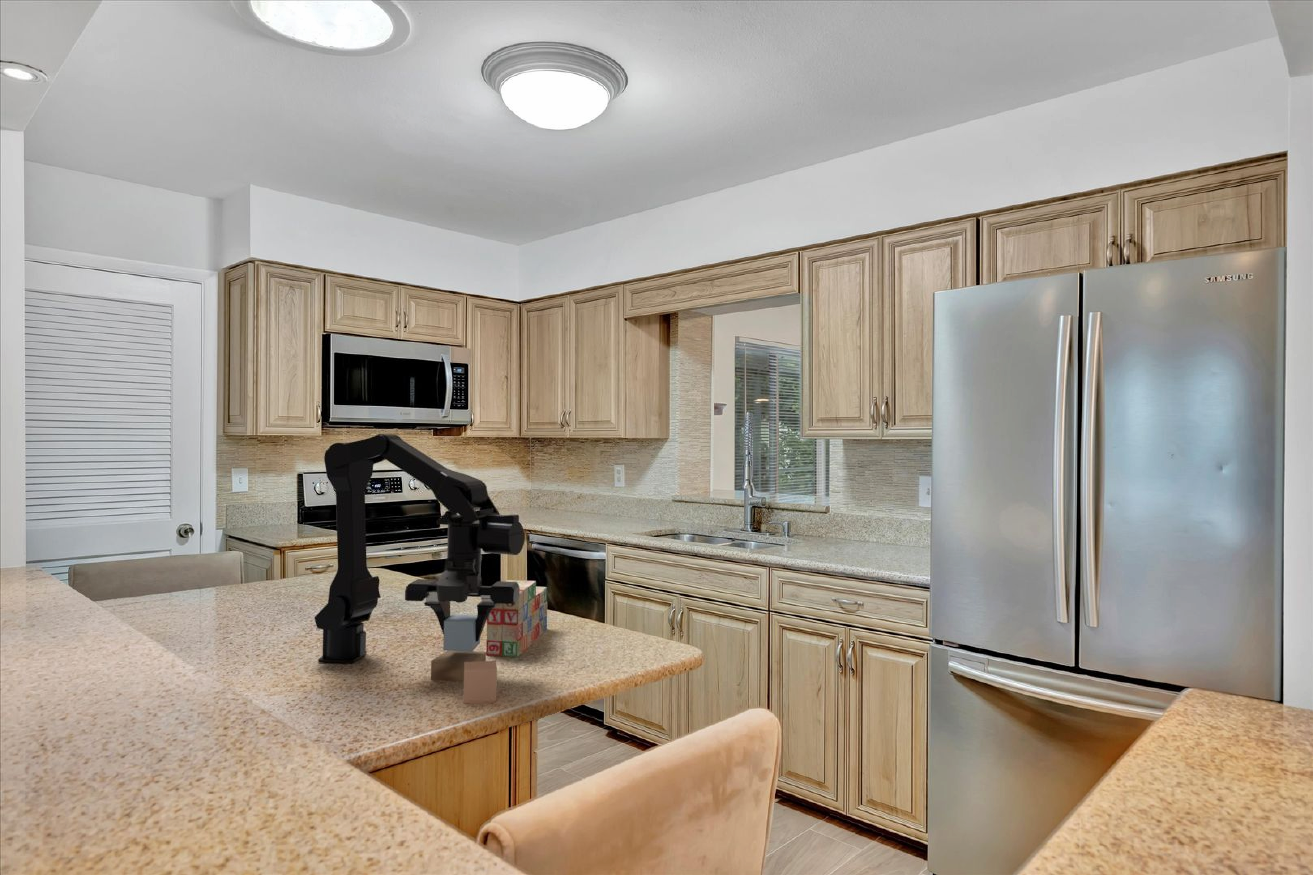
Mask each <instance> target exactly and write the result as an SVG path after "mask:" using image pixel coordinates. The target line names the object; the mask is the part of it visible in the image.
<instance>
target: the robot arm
mask: <svg viewBox="0 0 1313 875" xmlns="http://www.w3.org/2000/svg"><path fill="white" fill-rule="evenodd" d="M327 448H328V447H327ZM323 459H324V467H325V472H326V478H327V479H328V481H329V483H330V484H331V485H332V487H333V490H334V492H335V503H336V504H335V506H336V511H335V513H336V549H337V554H336V555H337V571H336V573H335V575H334V577H333V580H332V581H331V583H330V585H329V591H328V599H327V603H326V604H325V605H324V607H323V608H321V610H320V611H318V613H317V614H316V615H315V616H314V621H315V626H316V628H317V629H319V630H322V656H321V657H319V658H318V660H317V661H318V663H339V664H341V663H342V664H343V663H344V664H346V663H347V664H348V663H349V664H353V663H355V662H357V660H359V659H360V658H362V657H363V656H365V655H367V653H368V651H367V648H366V647H367V643H366V642H367V631H365V630H364V626H365V625H364V624H365V623H364V622H368V621H370V619H371V615H372V614H373V611H374V610H375V609H376V608H377V605H378V602H379V599H380V598H381V593H380V588H379V587H380V577H379V576H378V575H377V576H373V575H372V574H371V572H370V570H369V569H368V564H367V562H368V561H367V532H366V531H367V529H366V528H367V527H366V525H367V524H366V523H367V522H366V494H365V493H366V489H367V486H368V485H369V483H370V480H371V478H372V476H373V471H374V465H375V464H379V463H381V462H384V461H387V462H389V463H391V464H392V465H393V466H394V467H397V469H400V470H401V471H403V472H404V473H406V474H407V475H409V476H410V477H411V478H414V479H415V480H417V481H418V482H420V483H421V484H423V485H424V486H426V487H427V488H428V489H429V490H430V491H431V492H432V493H433V496H434V497H435V499H436V500H437V502H439V504H441V505H442V506H443V507H444V508H445V509H446V511H445V513H443V515H442V516H440V517H439V518H438V519H437V520H436V524H437V525H441V526H442V525H444V526H445V525H446V526H447V549H446V550H447V553H446V554H447V556H446V558H445V562H444V568H443V572H442V573H441V574H440V576H439V578H438V579H430V578H429V579H428V578H427V579H425V578H422V579H421V578H417V579H415V580H414V581H412V582H409V584H408V585H407V586H405V590H404V600H405V601H406V602H423V601H424V600H425V602H424V603H423V604H424V606H425V607H429V608H430V609H431V610H433V613H435V616H436V618H437V620H438V623H439V625H440V626H439V627H440V629H441V632H442V635H443V636H444V621H445V620H446V619H447V618H449V617H450V616H451V602H455V603H459V604H460V603H464V602H466V601H467V600H468V597H470V598H473V597H474V598H480V602H479V603H477V605H476V610H477V614H476V615H477V623H476V632H475V633H476V642H478V641H479V639H480V640H481V635H482V634H483V631H484V628H485V626H486V624H487V618H488V616H489V614H490V612H491V610H492V608H494V607H496V606H497V605H498V604H511V603H514V602H515V601H516V600H517V599H518V598H519V593H520V587H519V585H518V583H517V582H505V581H504V580H503V581H501V580H500V581H499V580H498V581H496V582H495V583H494V584H492V585H490V586H489V585H482V577H481V573H482V572H481V569H482V568H481V567H482V560H483V555H482V552H483V553H486V554H497V555H511V556H517V555H519V554H520V553H521V552H522V550H523V548H524V545H525V540H526V539H525V538H526V537H525V536H526V534H525V532H524V528H523V525H522V523H521V522H520V515H519V514H509V515H508V514H507V515H506V514H501V513H500V512H499V510H498V509H497V507H496V506H495V504H494V502H493V501H492V499H491V497H490V496H489V494H488V488H487V485H486V483H485V482H483V480H481V479H480V478H476V477H473V476H471V475H468V474H466V473H463V472H458V471H455V470H452V469H450V468H447V467H446V466H444V465H443V464H441V463H439V462H438V461H436V460H434V459H433V458H431V457H430V456H428V455H427V454H425V453H424V452H422V451H421V450H419V449H417V448H416V447H414V446H413V445H411V444H410V443H408V442H406V441H405V440H403V439H402V438H401V437H400V436H399V435H397V434H396V433H379V434H376V435H373V436H371V437H369V438H368V437H367V438H365V439H360V440H359V439H358V440H356V441H351V442H336V443H335V442H334V443H333V444H331V445H329V448H328V449H326V450H325V452H324V457H323Z"/></svg>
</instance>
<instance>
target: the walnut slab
mask: <svg viewBox="0 0 1313 875" xmlns="http://www.w3.org/2000/svg"><path fill="white" fill-rule="evenodd" d="M486 659H487V655H486V651H479V650H478V651H476V650H473V651H448V650H445V651H444V652H442V653H441V654H439V655H438V656H436V657H434V658H433V659H432V660H430V662H431V663H430V680H431V681H441V682H442V681H443V682H457V683H464V662H478V661H487V660H486Z"/></svg>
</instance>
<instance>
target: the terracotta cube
mask: <svg viewBox="0 0 1313 875" xmlns="http://www.w3.org/2000/svg"><path fill="white" fill-rule="evenodd" d="M497 682H498V667H497V660H486V661H478V662H464V682H463V698H462V699H463V701H462V702H463V703H462V704H470V703H472V704H474V703H488V702H489V703H491V702H497Z"/></svg>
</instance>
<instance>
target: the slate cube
mask: <svg viewBox="0 0 1313 875" xmlns="http://www.w3.org/2000/svg"><path fill="white" fill-rule="evenodd" d="M476 623H477V614H454V613H453V614H450V617H449V618H447V619H446V620H445V621H444V635H443V646H442V647H443V649H442V651H447V650H448V651H475V649H476V648H477V647H478V646H479V645H480V643H481V638H480V639H479V641H478V642H476V633H475V632H476Z"/></svg>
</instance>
